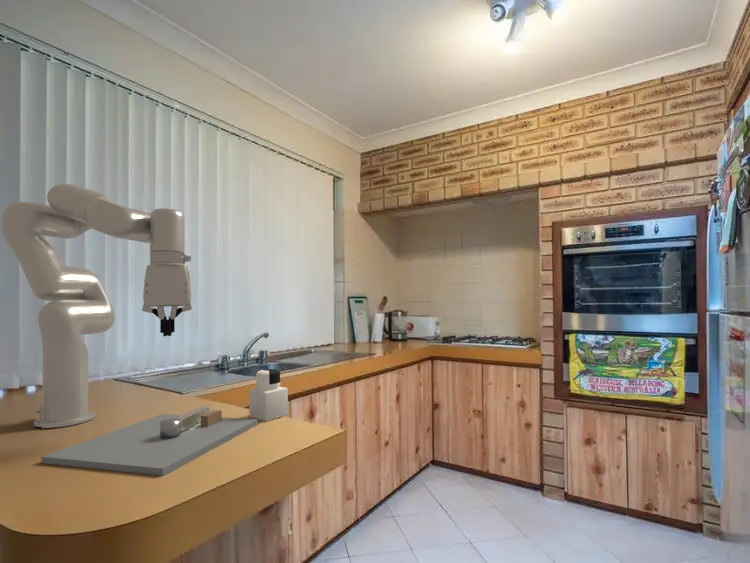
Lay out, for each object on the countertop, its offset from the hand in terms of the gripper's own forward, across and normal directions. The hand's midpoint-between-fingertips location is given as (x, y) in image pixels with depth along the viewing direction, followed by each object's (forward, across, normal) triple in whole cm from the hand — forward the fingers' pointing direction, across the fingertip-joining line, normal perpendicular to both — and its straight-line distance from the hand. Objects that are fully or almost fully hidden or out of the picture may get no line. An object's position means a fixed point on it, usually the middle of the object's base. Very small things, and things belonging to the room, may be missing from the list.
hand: (167, 335), depth 99 cm
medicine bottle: (+22, -24, +1) cm, 32 cm away
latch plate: (+22, 0, +10) cm, 24 cm away
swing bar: (+21, -4, +6) cm, 22 cm away
